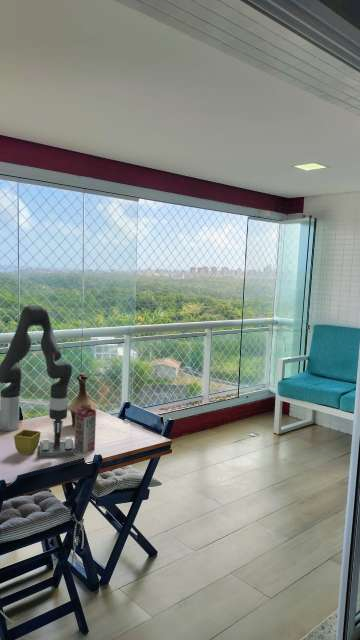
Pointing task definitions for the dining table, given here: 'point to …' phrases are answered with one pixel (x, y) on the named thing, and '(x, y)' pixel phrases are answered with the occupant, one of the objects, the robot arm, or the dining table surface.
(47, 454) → the panel
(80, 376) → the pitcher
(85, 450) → the juice carton
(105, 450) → the dining table surface
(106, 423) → the dining table surface
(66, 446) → the tab right
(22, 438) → the flower pot
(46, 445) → the tab left
